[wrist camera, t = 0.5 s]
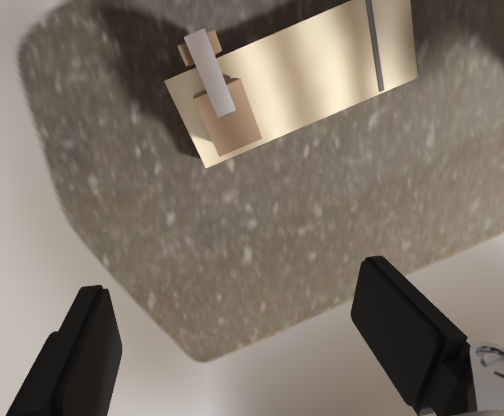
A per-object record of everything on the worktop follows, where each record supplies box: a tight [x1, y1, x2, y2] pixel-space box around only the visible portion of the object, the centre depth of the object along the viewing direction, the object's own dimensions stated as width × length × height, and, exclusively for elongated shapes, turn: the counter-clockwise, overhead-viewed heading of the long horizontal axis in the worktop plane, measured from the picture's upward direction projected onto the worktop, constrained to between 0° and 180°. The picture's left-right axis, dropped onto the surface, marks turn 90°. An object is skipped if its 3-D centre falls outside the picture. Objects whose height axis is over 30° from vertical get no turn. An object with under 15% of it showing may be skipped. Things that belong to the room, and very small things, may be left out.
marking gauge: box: [177, 29, 262, 157], centre depth 25 cm, size 4×9×6 cm, turn 21°
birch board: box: [164, 0, 417, 168], centre depth 30 cm, size 24×9×3 cm, turn 111°
